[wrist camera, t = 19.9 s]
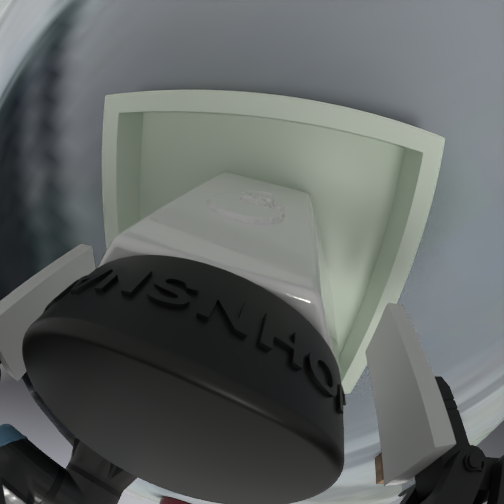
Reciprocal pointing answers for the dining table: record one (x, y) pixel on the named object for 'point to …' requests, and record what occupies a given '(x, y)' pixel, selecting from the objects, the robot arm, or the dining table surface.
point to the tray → (285, 182)
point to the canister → (171, 501)
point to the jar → (204, 348)
